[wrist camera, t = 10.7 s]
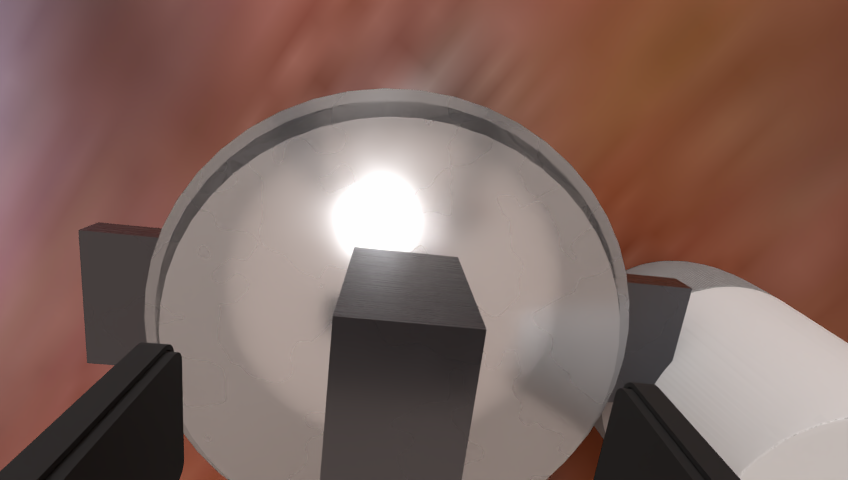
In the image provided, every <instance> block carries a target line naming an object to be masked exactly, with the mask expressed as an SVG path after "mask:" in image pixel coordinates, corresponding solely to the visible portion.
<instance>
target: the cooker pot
mask: <svg viewBox="0 0 848 480" xmlns="http://www.w3.org/2000/svg"><path fill="white" fill-rule="evenodd" d="M386 116H393V117H411V118H423V119H428V120H433V121H438V122H444V123H449V124H453V125H456V126H459V127H462V128H465V129H468V130H471V131H474V132H477V133H480V134H483V135H486V136H488V137H490V138H492V139H494V140H496V141H498V142H500V143H502V144H504V145H506V146H508V147H510V148H512V149H514V150H516V151H517V152H519V153H520V154H522V155H523V156H525V157H526V158H528V159H529V160H530V161H532V162H533V163H535V164H536V165H538V166H539V167H541V168H542V169H543V170H544V171H545V172H546V173H547V174H549V175H550V176H551V177H552V178H553V179H554V180H555V181H556V182H557V183H558V184H560V185H561V186H562V187H563V188H564V189H565V190H566V191H567V193H568V194H569V195H570V196H571V198H572V199H573V200H574V201H575V202H576V204H577V205H578V206H579V207H580V209H581V210H582V211H583V212H584V214H585V215H586V217H587V219H588V220H589V222H590V224H591V225H592V227H593V229H594V230H595V232H596V234H597V235H598V237H599V239H600V242H601V244H602V246H603V249H604V251H605V253H606V256H607V258H608V261H609V263H610V266H611V270H612V274H613V278H614V282H615V285H616V289H617V297H618V306H619V315H620V329H619V348H618V353H617V359H616V365H615V371H614V374H613V377H612V380H611V383H610V387H609V390H608V393H607V396H606V398H605V400H604V402H603V405H602V407H601V409H600V411H599V413H598V415H597V417H596V420H595V421H594V423H593V424H592V426H591V427H590V429H589V431H588V432H587V434H586V435H585V437H584V438H583V440H584V439H585V438H586V436H587V435H588V434H589V432H590V431H591V429H592V428H593V426H594V425H595V423H596V421H597V420H598V418H599V417H600V415H601V413H602V412H603V410H604V408H605V406H606V404H607V402H613V401H614V397H615V393H616V391H617V390H618V389H619V388H623V387H624V385H625V384H626V383H628V382H635V383H647V384H655V383H656V381H657V380H658V378H659V377H660V376H661V374H662V373H663V372H664V370H665V369H666V368H667V367H668V366H669V364H670V363H671V362H672V361H673V358H674V354H675V350H676V347H677V343H678V339H679V336H680V332H681V328H682V324H683V321H684V317H685V313H686V310H687V306H688V302H689V299H690V295H691V291H692V288H690V287H689V286H687V285H686V284H684V283H682V282H681V281H679V280H678V279H676V278H667V277H657V276H646V275H636V274H626V270H625V266H624V263H623V259H622V255H621V251H620V247H619V244H618V241H617V239H616V236H615V234H614V232H613V229H612V227H611V224H610V222H609V220H608V217H607V215H606V214H605V212H604V210H603V209H602V207H601V205H600V204H599V202H598V200H597V199H596V197H595V195H594V194H593V192H592V190H591V189H590V188H589V187H588V185H587V184H586V183H585V182H584V180H583V179H582V178H581V177H580V175H579V174H578V173H577V172H576V171H575V169H574V168H573V167H572V166H571V165H570V164H569V163H568V162H567V161H566V160H565V159H564V158H563V157H562V156H561V155H560V154H558V153H557V152H556V151H555V150H554V149H553V148H552V147H551V146H550V145H549V144H548V143H546V142H545V141H543V140H542V139H541V138H539V137H538V136H536V135H535V134H533V133H532V132H531V131H529V130H528V129H526V128H525V127H523V126H522V125H520V124H519V123H517V122H515V121H513V120H511V119H509V118H507V117H505V116H503V115H501V114H499V113H497V112H495V111H493V110H491V109H489V108H486V107H483V106H480V105H477V104H474V103H471V102H468V101H465V100H463V99H460V98H457V97H452V96H447V95H442V94H437V93H432V92H427V91H421V90H405V89H387V88H383V89H371V90H359V91H348V92H343V93H339V94H334V95H330V96H325V97H321V98H317V99H313V100H310V101H307V102H305V103H302V104H299V105H297V106H294V107H291V108H289V109H286V110H283V111H280V112H278V113H277V114H275V115H273V116H271V117H269V118H267V119H266V120H264V121H262V122H260V123H258V124H256V125H255V126H253V127H251V128H249V129H248V130H246V131H245V132H244V133H242V134H241V135H240V136H238V137H237V138H236V139H234V140H233V141H232V142H230V143H229V144H228V145H226V146H225V147H223V148H222V149H221V150H220V151H219V152H218V153H217V154H216V155H215V156H214V157H213V158H212V159H211V160H210V161H209V162H208V163H207V164H206V165H205V166H204V167H203V168H202V169H201V170H200V171H199V172H198V173H197V174H196V175H195V177H194V178H193V179H192V181H191V182H190V183H189V185H188V186H187V187H186V189H185V190H184V192H183V193H182V194H181V196H180V197H179V198H178V200H177V201H176V203H175V205H174V207H173V209H172V211H171V213H170V214H169V216H168V218H167V220H166V222H165V224H164V226H163V228H162V229H160V228H150V227H140V226H129V225H119V224H109V223H96V224H93V225H91V226H88V227H85V228H83V229H80V230H79V245H80V260H81V275H82V290H83V305H84V321H85V336H86V351H87V363H94V364H107V365H116V364H117V363H118V362H119V361H120V360H121V359H122V358H123V357H125V356H126V355H127V354H128V353H129V352H130V351H131V350H132V349H133V348H134V347H135V346H136V345H138V344H139V343H141V342H146V343H158V344H160V341H159V318H160V303H161V298H162V293H163V289H164V284H165V279H166V275H167V272H168V269H169V267H170V264H171V261H172V259H173V256H174V253H175V250H176V248H177V246H178V244H179V242H180V240H181V239H182V237H183V235H184V233H185V231H186V230H187V228H188V226H189V224H190V222H191V221H192V219H193V218H194V217H195V215H196V214H197V213H198V211H199V210H200V209H201V207H202V206H203V205H204V204H205V202H206V201H207V200H208V198H209V197H210V196H211V195H212V194H213V193H214V192H215V191H216V190H217V189H218V188H219V187H220V186H221V185H222V184H223V183H224V182H225V181H226V180H227V179H228V178H229V177H230V176H231V175H232V174H233V173H235V172H236V171H238V170H239V169H240V168H242V167H243V166H244V165H246V164H247V163H248V162H250V161H251V160H253V159H254V158H255V157H257V156H258V155H259V154H261V153H263V152H265V151H267V150H269V149H271V148H272V147H274V146H276V145H278V144H280V143H282V142H284V141H286V140H287V139H290V138H292V137H295V136H298V135H300V134H303V133H306V132H309V131H311V130H314V129H317V128H320V127H323V126H327V125H331V124H336V123H340V122H345V121H350V120H354V119H361V118H374V117H386ZM183 433H184V434H185V436H186V437H187V438H188V440H189V441H190V442H191V444H192V445H193V446H194V447H195V449H196V450H197V451H198V452H199V453H200V454H201V455H202V456H203V457H204V458H205V459H206V460H207V461H208V462H209V463H210V464H211V465H212V466H213V467H214V468H215V469H216V470H217V471H218V472H219V473H220V474H221V475H223V476H224V477H225V478H226V479H228V480H230V479H229V478H227V477H226V476H225V475H224V474H223V473H222V472H221V471H220V470H219V469H218V468H217V467H216V466H215V465H214V464H213V463H212V462H211V461H210V460H209V459H208V457H207V456H206V455H205V453H204V452H203V451H202V450H201V448H200V447H199V446H198V444H197V443H196V442H195V440H194V439H193V438H192V436H191V435H190V433H189V431H188V429H187V428H186V426H185V424H184V422H183ZM583 440H582V441H583ZM580 444H581V443H580ZM580 444H579V445H580ZM579 445H578V446H579ZM578 446H577V447H578ZM576 449H577V448H576ZM576 449H575V450H576ZM575 450H574V451H575ZM574 451H573V452H574ZM571 455H572V454H571ZM571 455H570V456H571ZM570 456H569V457H570ZM569 457H568V458H569Z"/></svg>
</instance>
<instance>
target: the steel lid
mask: <svg viewBox="0 0 848 480" xmlns="http://www.w3.org/2000/svg"><path fill="white" fill-rule="evenodd" d="M619 329H620V315H619V306H618V297H617V289H616V285H615V282H614V278H613V274H612V270H611V266H610V263H609V261H608V258H607V256H606V253H605V251H604V249H603V246H602V244H601V242H600V239H599V237H598V235H597V234H596V232H595V230H594V229H593V227H592V225H591V224H590V222H589V220H588V219H587V217H586V215H585V214H584V212H583V211H582V210H581V209H580V207H579V206H578V205H577V204H576V202H575V201H574V200H573V199H572V198H571V196H570V195H569V194H568V193H567V191H566V190H565V189H564V188H563V187H562V186H561V185H560V184H558V183H557V182H556V181H555V180H554V179H553V178H552V177H551V176H550V175H549V174H547V173H546V172H545V171H544V170H543V169H542V168H541V167H539V166H538V165H536V164H535V163H533V162H532V161H530V160H529V159H528V158H526V157H525V156H523V155H522V154H520V153H519V152H517V151H516V150H514V149H512V148H510V147H508V146H506V145H504V144H502V143H500V142H498V141H496V140H494V139H492V138H490V137H488V136H486V135H483V134H480V133H477V132H474V131H471V130H468V129H465V128H462V127H459V126H456V125H453V124H449V123H444V122H438V121H433V120H428V119H423V118H411V117H393V116H386V117H374V118H361V119H354V120H350V121H345V122H340V123H336V124H331V125H327V126H323V127H320V128H317V129H314V130H311V131H309V132H306V133H303V134H300V135H298V136H295V137H292V138H290V139H287V140H286V141H284V142H282V143H280V144H278V145H276V146H274V147H272V148H271V149H269V150H267V151H265V152H263V153H261V154H259V155H258V156H257V157H255V158H254V159H253V160H251V161H250V162H248V163H247V164H246V165H244V166H243V167H242V168H240V169H239V170H238V171H236V172H235V173H233V174H232V175H231V176H230V177H229V178H228V179H227V180H226V181H225V182H224V183H223V184H222V185H221V186H220V187H219V188H218V189H217V190H216V191H215V192H214V193H213V194H212V195H211V196H210V197H209V198H208V200H207V201H206V202H205V204H204V205H203V206H202V207H201V209H200V210H199V211H198V213H197V214H196V215H195V217H194V218H193V219H192V221H191V222H190V224H189V226H188V228H187V230H186V231H185V233H184V235H183V237H182V239H181V240H180V242H179V244H178V246H177V248H176V250H175V253H174V256H173V259H172V261H171V264H170V267H169V269H168V272H167V275H166V279H165V284H164V289H163V293H162V298H161V303H160V318H159V341H160V344H170V345H172V346H173V349H174V352H179V353H181V356H182V382H183V422H184V424H185V426H186V428H187V429H188V431H189V433H190V435H191V436H192V438H193V439H194V440H195V442H196V443H197V444H198V446H199V447H200V448H201V450H202V451H203V452H204V453H205V455H206V456H207V457H208V459H209V460H210V461H211V462H212V463H213V464H214V465H215V466H216V467H217V468H218V469H219V470H220V471H221V472H222V473H223V474H224V475H225V476H226V477H227V478H229V479H230V480H546V479H547V478H548V477H550V476H551V475H552V474H553V473H554V472H555V471H556V470H557V469H558V468H559V467H560V466H561V465H562V464H563V463H564V462H565V461H566V460H567V459H568V457H569V456H570V455H571V454H572V453H573V451H574V450H575V449H576V448H577V446H578V445H579V444H580V443H581V442H582V440H583V438H584V437H585V435H586V434H587V432H588V431H589V429H590V427H591V426H592V424H593V423H594V421H595V420H596V417H597V415H598V413H599V411H600V409H601V407H602V405H603V402H604V400H605V398H606V396H607V393H608V390H609V387H610V383H611V380H612V377H613V374H614V371H615V365H616V359H617V353H618V348H619Z"/></svg>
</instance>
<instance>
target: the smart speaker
mask: <svg viewBox="0 0 848 480" xmlns="http://www.w3.org/2000/svg"><path fill="white" fill-rule="evenodd" d="M626 274H636V275H646V276H657V277H667V278H676V279H678V280H679V281H681V282H682V283H684V284H686V285H687V286H689V287H690V288H692V291H691V295H690V299H689V302H688V306H687V310H686V313H685V317H684V321H683V324H682V328H681V332H680V336H679V339H678V343H677V347H676V350H675V354H674V358H673V361H672V362H671V363H670V364H669V366H668V367H667V368H666V369H665V370H664V372H663V373H662V374H661V376H660V377H659V378H658V380H657V381H656V383H655V385H656V386H658V387H659V388H660V390H661V391H662V392H663V393H664V394H665V395H666V396H667V397H668V399H669V400H670V401H671V402H672V403H673V404H674V405H675V406H676V408H677V409H678V410H679V411H680V412H681V413H682V414H683V415H684V416H685V418H686V419H687V420H688V421H689V422H690V423H691V424H692V425H693V427H694V428H695V429H696V430H697V431H698V432H699V433H700V434H701V436H702V437H703V438H704V439H705V440H706V441H707V442H708V443H709V445H710V446H711V447H712V448H713V449H714V450H715V451H716V452H717V453H718V455H719V456H720V457H721V458H722V459H723V460H724V461H725V462H726V464H727V465H728V466H729V467H730V468H731V469H732V470H733V471H734V473H735V474H736V475H737V476H738V477H739V478H740V479H741V480H848V343H847V342H845V341H843V340H842V339H840V338H839V337H837V336H836V335H834V334H832V333H831V332H829V331H828V330H826V329H825V328H823V327H822V326H820V325H818V324H817V323H815V322H814V321H812V320H811V319H809V318H807V317H806V316H804V315H803V314H801V313H800V312H798V311H797V310H795V309H793V308H792V307H790V306H789V305H787V304H786V303H784V302H782V301H781V300H779V299H778V298H776V297H774V296H772V295H771V294H769V293H767V292H765V291H764V290H762V289H760V288H758V287H756V286H755V285H753V284H751V283H749V282H747V281H745V280H743V279H741V278H739V277H737V276H735V275H733V274H730V273H728V272H725V271H723V270H720V269H717V268H714V267H711V266H707V265H703V264H697V263H692V262H684V261H659V262H652V263H647V264H643V265H639V266H636V267H633V268H631V269H628V270H626ZM612 405H613V402H607V404H606V406H605V408H604V410H603V412H602V413H601V415H600V417H599V418H598V420H597V421H596V423H595V425H594V426H595V427H596V429H597V430H598V432H599V433H600V435H601V436H602V438H603V439H604V437H605V433H606V429H607V425H608V421H609V417H610V413H611V409H612Z"/></svg>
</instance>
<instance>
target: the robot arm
mask: <svg viewBox="0 0 848 480" xmlns="http://www.w3.org/2000/svg"><path fill="white" fill-rule="evenodd" d="M183 465H184V438H183V382H182V356H181V353H179V352H174V349H173V346H172V345H170V344H158V343H146V342H141V343H139V344H138V345H136V346H135V347H134V348H133V349H132V350H131V351H130V352H129V353H128V354H127V355H126V356H125V357H123V358H122V359H121V360H120V361H119V362H118V363H117V364H116V365H115V366H114V367H113V368H112V369H111V370H109V371H108V372H107V373H106V374H105V375H104V376H103V377H102V378H101V379H100V380H99V381H98V382H96V383H95V384H94V385H93V386H92V387H91V388H90V389H89V390H88V391H87V392H86V393H85V394H83V395H82V396H81V397H80V398H79V399H78V400H77V401H76V402H75V403H74V404H73V405H72V406H71V407H69V408H68V409H67V410H66V411H65V412H64V413H63V414H62V415H61V416H60V417H59V418H58V419H56V420H55V421H54V422H53V423H52V424H51V425H50V426H49V427H48V428H47V429H46V430H45V431H43V432H42V433H41V434H40V435H39V436H38V437H37V438H36V439H35V440H34V441H33V442H32V443H31V444H29V445H28V446H27V447H26V448H25V449H24V450H23V451H22V452H21V453H20V454H19V455H18V456H16V457H15V458H14V459H13V460H12V461H11V462H10V463H9V464H8V465H7V466H6V467H5V468H3V469H2V470H1V471H0V480H179V479H180V476H181V473H182V470H183ZM594 480H741V479H740V478H739V477H738V476H737V475H736V474H735V473H734V471H733V470H732V469H731V468H730V467H729V466H728V465H727V464H726V462H725V461H724V460H723V459H722V458H721V457H720V456H719V455H718V453H717V452H716V451H715V450H714V449H713V448H712V447H711V446H710V445H709V443H708V442H707V441H706V440H705V439H704V438H703V437H702V436H701V434H700V433H699V432H698V431H697V430H696V429H695V428H694V427H693V425H692V424H691V423H690V422H689V421H688V420H687V419H686V418H685V416H684V415H683V414H682V413H681V412H680V411H679V410H678V409H677V408H676V406H675V405H674V404H673V403H672V402H671V401H670V400H669V399H668V397H667V396H666V395H665V394H664V393H663V392H662V391H661V390H660V388H659V387H658V386H656V385H655V384H647V383H635V382H628V383H626V384H625V385H624V387H623V388H619V389H618V390H617V391H616V393H615V397H614V401H613V405H612V409H611V413H610V417H609V421H608V425H607V429H606V433H605V437H604V440H603V444H602V448H601V452H600V456H599V460H598V464H597V468H596V472H595V476H594Z"/></svg>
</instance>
